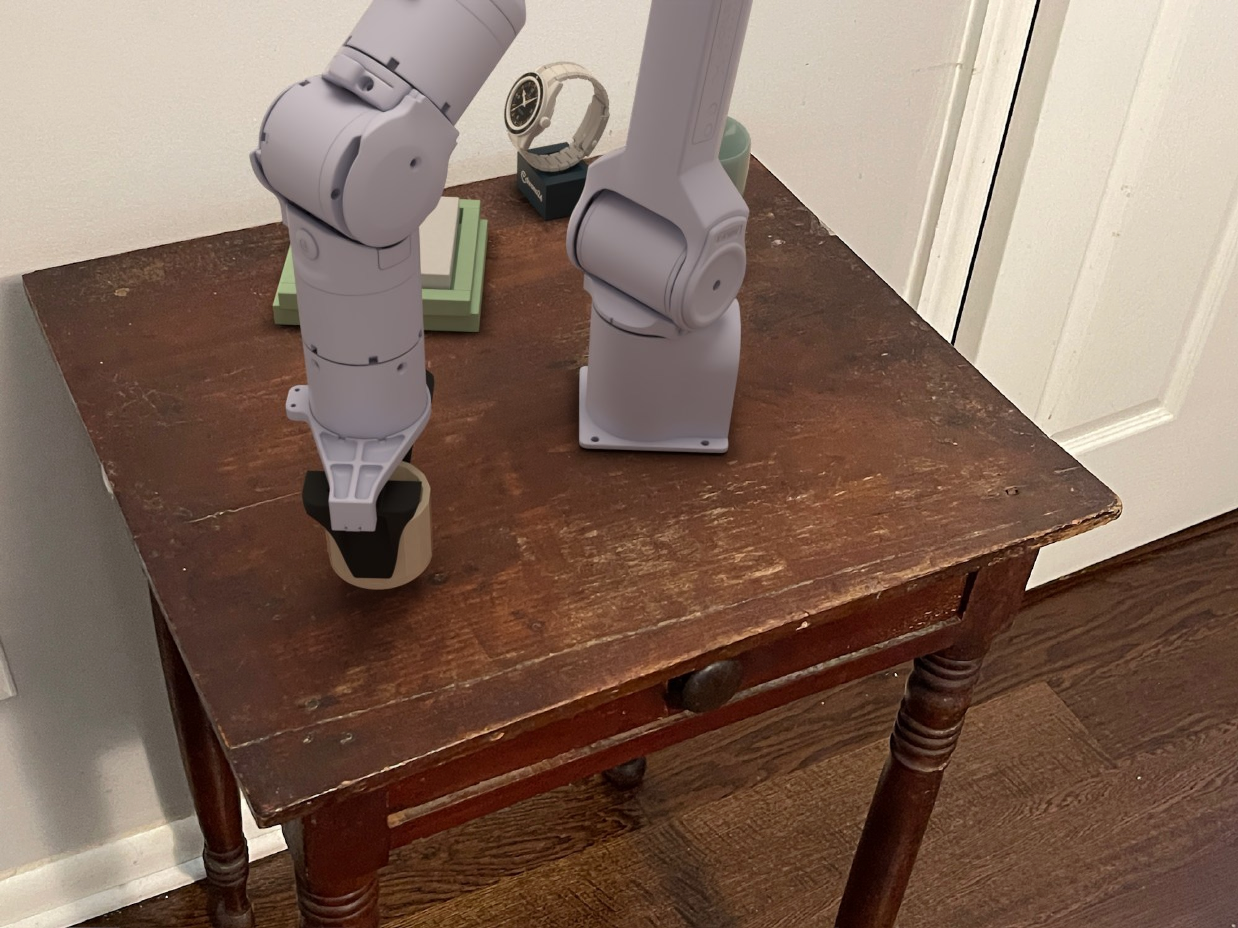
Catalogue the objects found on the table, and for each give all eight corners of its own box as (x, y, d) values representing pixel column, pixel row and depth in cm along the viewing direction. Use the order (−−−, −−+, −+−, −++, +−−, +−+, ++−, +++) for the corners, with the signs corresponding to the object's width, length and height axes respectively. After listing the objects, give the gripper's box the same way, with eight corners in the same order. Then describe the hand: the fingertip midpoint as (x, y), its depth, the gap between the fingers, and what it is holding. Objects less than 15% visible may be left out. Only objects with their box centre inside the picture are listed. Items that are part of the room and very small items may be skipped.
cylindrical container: (436, 517, 77) (434, 458, 73) (428, 591, 72) (425, 532, 69) (336, 514, 76) (329, 455, 73) (322, 588, 72) (314, 529, 69)
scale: (488, 234, 103) (487, 200, 101) (478, 336, 94) (478, 301, 92) (302, 226, 103) (298, 191, 100) (273, 328, 93) (269, 292, 91)
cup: (738, 285, 100) (755, 166, 94) (633, 279, 100) (643, 159, 93) (732, 228, 106) (749, 112, 99) (633, 222, 106) (643, 105, 99)
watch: (494, 190, 108) (494, 61, 101) (585, 172, 111) (591, 45, 104) (522, 226, 104) (524, 95, 97) (615, 206, 107) (624, 77, 100)
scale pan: (460, 215, 100) (459, 197, 99) (450, 293, 93) (449, 274, 92) (323, 209, 100) (322, 190, 99) (303, 287, 92) (300, 268, 91)
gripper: (301, 240, 69) (323, 439, 78) (249, 426, 59) (282, 631, 68) (439, 246, 70) (446, 443, 79) (413, 431, 59) (424, 634, 68)
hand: (379, 530), depth 73 cm, fingers closed on cylindrical container, 5 cm apart
